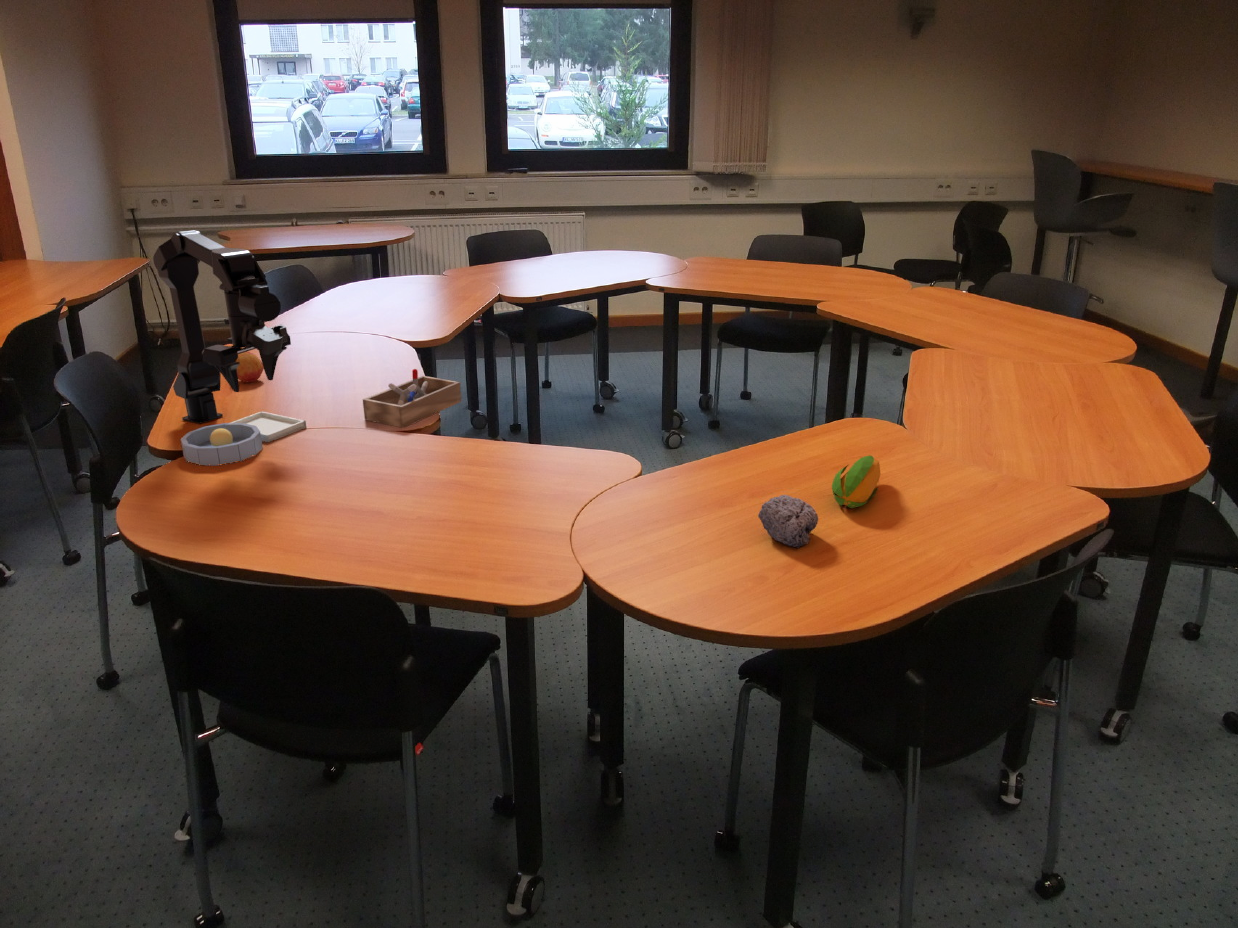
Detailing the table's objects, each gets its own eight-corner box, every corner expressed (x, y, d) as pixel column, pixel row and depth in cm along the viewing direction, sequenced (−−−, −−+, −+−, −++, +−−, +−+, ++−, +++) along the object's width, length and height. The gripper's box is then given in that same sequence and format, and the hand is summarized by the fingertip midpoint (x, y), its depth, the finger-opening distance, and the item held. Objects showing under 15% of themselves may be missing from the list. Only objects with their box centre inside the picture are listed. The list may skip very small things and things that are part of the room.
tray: (224, 431, 203) (223, 425, 203) (262, 417, 212) (261, 411, 212) (268, 442, 197) (267, 435, 196) (306, 427, 206) (305, 420, 205)
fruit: (268, 376, 243) (264, 347, 240) (261, 385, 236) (257, 355, 233) (238, 377, 242) (233, 348, 239) (230, 386, 235) (225, 356, 232)
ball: (207, 449, 191) (203, 430, 189) (224, 443, 194) (221, 424, 193) (221, 453, 189) (218, 433, 187) (238, 446, 192) (235, 427, 191)
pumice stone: (821, 561, 152) (810, 521, 160) (829, 527, 148) (817, 488, 155) (760, 560, 152) (752, 520, 160) (766, 526, 147) (758, 487, 155)
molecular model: (415, 424, 208) (421, 382, 205) (380, 415, 209) (386, 374, 206) (438, 406, 225) (444, 368, 222) (405, 398, 225) (411, 360, 222)
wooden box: (364, 419, 211) (362, 399, 209) (424, 394, 228) (422, 375, 227) (403, 427, 206) (401, 407, 204) (461, 401, 223) (459, 382, 222)
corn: (827, 472, 162) (858, 438, 178) (821, 510, 166) (851, 473, 182) (868, 483, 159) (895, 447, 175) (860, 521, 162) (888, 482, 178)
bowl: (169, 457, 189) (165, 440, 188) (228, 435, 201) (225, 419, 200) (218, 470, 182) (215, 453, 181) (276, 446, 195) (274, 430, 193)
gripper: (234, 328, 174) (247, 404, 180) (305, 308, 190) (314, 379, 196) (194, 321, 179) (207, 396, 185) (266, 303, 194) (276, 372, 200)
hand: (253, 385), depth 191 cm, fingers open, 9 cm apart
